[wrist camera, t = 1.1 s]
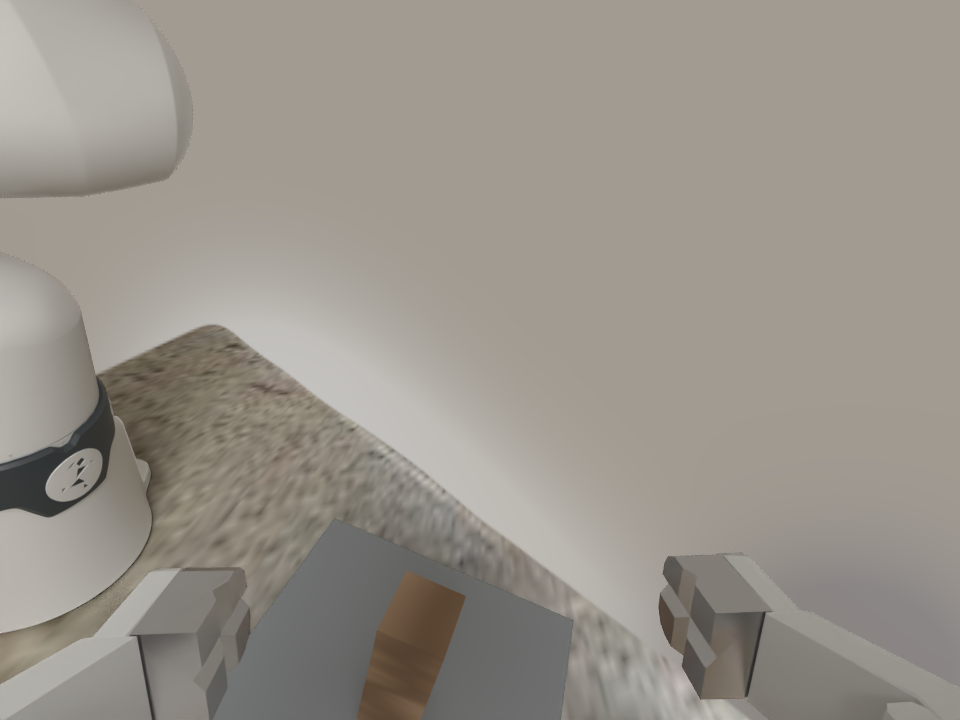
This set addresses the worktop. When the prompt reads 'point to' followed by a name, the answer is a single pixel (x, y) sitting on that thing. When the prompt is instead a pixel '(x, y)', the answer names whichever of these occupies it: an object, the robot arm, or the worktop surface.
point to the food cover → (396, 643)
